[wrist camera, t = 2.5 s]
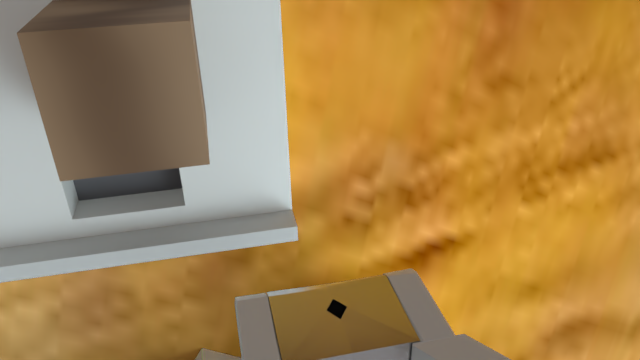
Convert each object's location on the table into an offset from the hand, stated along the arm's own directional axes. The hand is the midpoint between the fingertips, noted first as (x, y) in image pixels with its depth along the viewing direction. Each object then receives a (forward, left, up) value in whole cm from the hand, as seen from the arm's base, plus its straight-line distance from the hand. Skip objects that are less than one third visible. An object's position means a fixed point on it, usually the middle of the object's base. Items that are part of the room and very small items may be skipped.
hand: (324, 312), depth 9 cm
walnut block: (+4, 0, -16) cm, 16 cm away
